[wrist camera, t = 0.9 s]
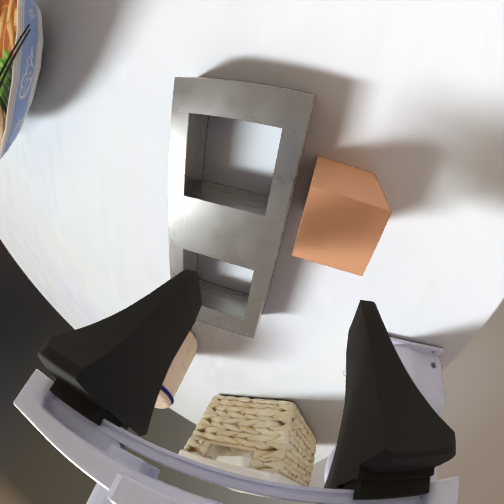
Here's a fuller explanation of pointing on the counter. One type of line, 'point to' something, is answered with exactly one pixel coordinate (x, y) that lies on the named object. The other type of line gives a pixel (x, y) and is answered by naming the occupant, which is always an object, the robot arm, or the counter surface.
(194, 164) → the grey slotted board
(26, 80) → the ramen bowl
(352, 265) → the orange brown block
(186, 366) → the teacup with lid
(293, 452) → the storage basket
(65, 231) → the counter surface
